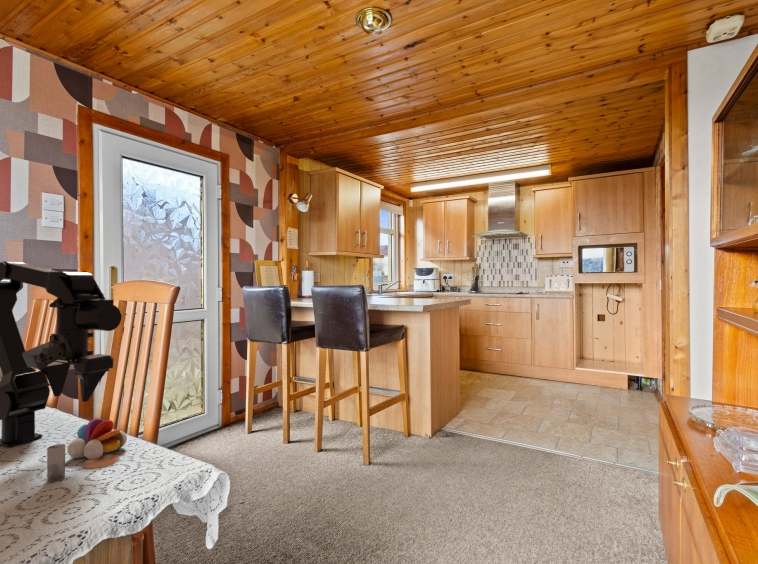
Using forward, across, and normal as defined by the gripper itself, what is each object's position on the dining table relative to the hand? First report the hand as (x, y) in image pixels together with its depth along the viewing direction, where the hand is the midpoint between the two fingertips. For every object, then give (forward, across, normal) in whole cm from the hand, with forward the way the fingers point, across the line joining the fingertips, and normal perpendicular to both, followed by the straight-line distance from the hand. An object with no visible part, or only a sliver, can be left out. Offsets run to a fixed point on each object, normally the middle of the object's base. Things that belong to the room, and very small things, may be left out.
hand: (71, 398), depth 88 cm
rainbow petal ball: (+11, +9, 0) cm, 14 cm away
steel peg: (+11, +13, -10) cm, 19 cm away
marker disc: (+10, +13, -2) cm, 17 cm away
